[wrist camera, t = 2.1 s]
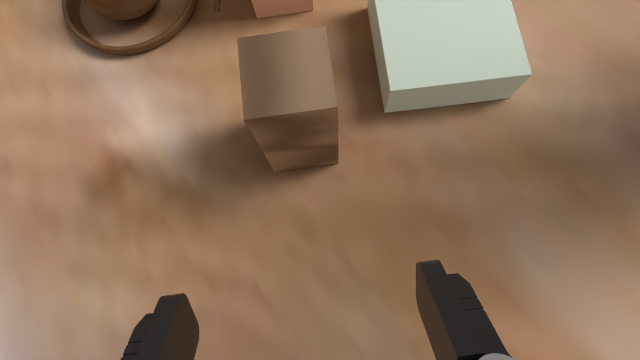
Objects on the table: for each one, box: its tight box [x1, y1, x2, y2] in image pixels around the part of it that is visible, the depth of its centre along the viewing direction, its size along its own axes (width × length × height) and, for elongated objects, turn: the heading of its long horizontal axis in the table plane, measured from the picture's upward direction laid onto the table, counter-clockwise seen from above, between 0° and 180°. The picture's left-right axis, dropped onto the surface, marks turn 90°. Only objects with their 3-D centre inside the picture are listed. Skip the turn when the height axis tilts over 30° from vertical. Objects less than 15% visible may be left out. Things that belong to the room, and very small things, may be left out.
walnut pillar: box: [237, 26, 338, 172], centre depth 25 cm, size 5×5×10 cm
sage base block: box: [367, 0, 532, 113], centre depth 30 cm, size 10×10×4 cm
